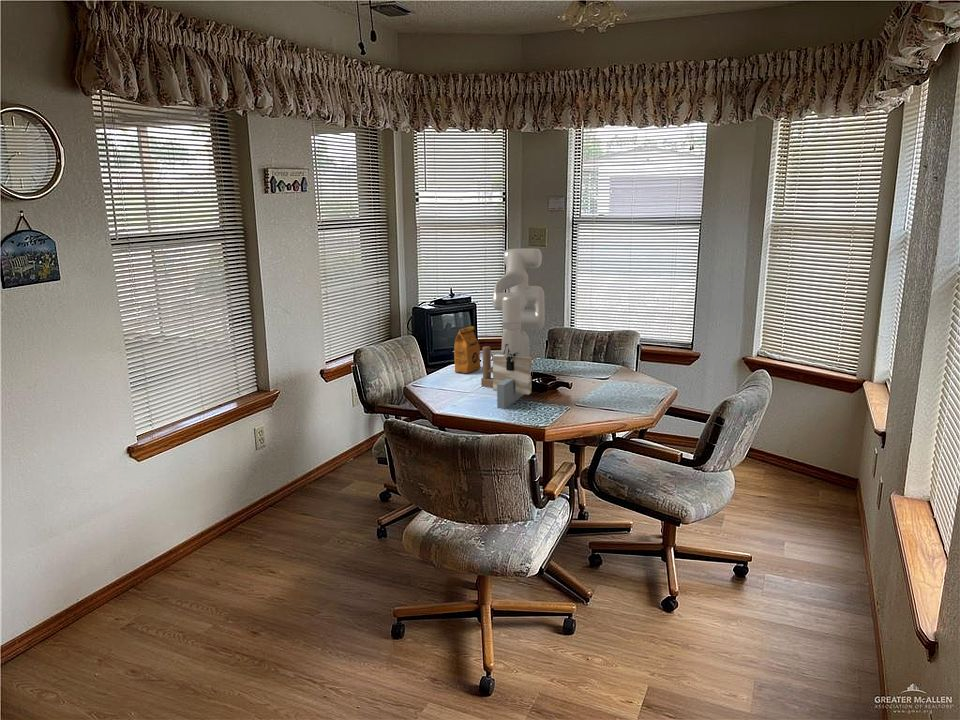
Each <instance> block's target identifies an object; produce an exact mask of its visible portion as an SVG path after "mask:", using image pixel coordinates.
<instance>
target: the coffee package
mask: <svg viewBox="0 0 960 720" xmlns="http://www.w3.org/2000/svg"><path fill="white" fill-rule="evenodd" d="M474 330H476V329H475V326H473V325H471V326H468V327H464V328H461V329H459V331H458V332H457V335H456V337H455V340H454V347H453V349H454V350H453V355H454V357H453V358H454V372H455V373H458V374H459V373H461V374H462V373H463V374H469V373H473V372H476V371H479V370H480V369H481V348H480V344H479V341H478V339H477V338H476V335H475V333H474Z"/></svg>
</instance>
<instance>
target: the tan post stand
mask: <svg viewBox="0 0 960 720" xmlns="http://www.w3.org/2000/svg"><path fill="white" fill-rule="evenodd" d="M481 349H482V377H481V383H480V384H481V387H485V388H491V389H493V377H492V374H493V365H492V364H491V362H492V361H491V359H492V358H491V357H492V356H491V346H488V345H487V346H483V347H482V348H481Z"/></svg>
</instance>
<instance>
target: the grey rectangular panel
mask: <svg viewBox="0 0 960 720" xmlns="http://www.w3.org/2000/svg"><path fill="white" fill-rule="evenodd" d="M524 395H526V394H518V393H515V381H514V380H513V379H508V378H507V379H505V380H503V381H502V382H500V383H499V384H497V391H496V397H497V398H496V403H497V404H496V405H497V406H496V407H497V409H499V408H501V410H505V409H506V408H508V407H509V406H510V405H512V404H513V403H515V402H516V401H517V400H519V399H520V398H522V397H523V396H524Z"/></svg>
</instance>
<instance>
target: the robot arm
mask: <svg viewBox="0 0 960 720" xmlns="http://www.w3.org/2000/svg"><path fill="white" fill-rule="evenodd" d="M503 261H504V265H505V274H504V275H503V276H501V277H500V278H499V279H498V280H497V281H496V283H495V284H494V286H493V292H492V301H491V303H492V307H493V308H494V310H496V311H502V334H501V335H502V336H501V355H504V357H505V358H506V370H508V371H514V361H513V356H520V357H530V338H529V335H528V334H527V333H526V332H525V331H527V330H534V331H537V330H538V331H539V330H543V328H544V327H545V320H546V319H545V315H546V314H545V312H546V311H545V310H546V309H545V306H546V305H545V292H544V288H542V287H541V286H539V285H529V274H528V272H527V271H526V269H533V268H534V269H538V268H539V267H540V266H541V265H542V261H543V254H542V252H541V250H540V248H534V247H532V248H525V247H524V248H510V249H509V248H508V249H505V250H504V252H503ZM508 289H509V291H508V292H504V291H506V290H508ZM526 307H532V308H534V309H530V308H529V309H526Z"/></svg>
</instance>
